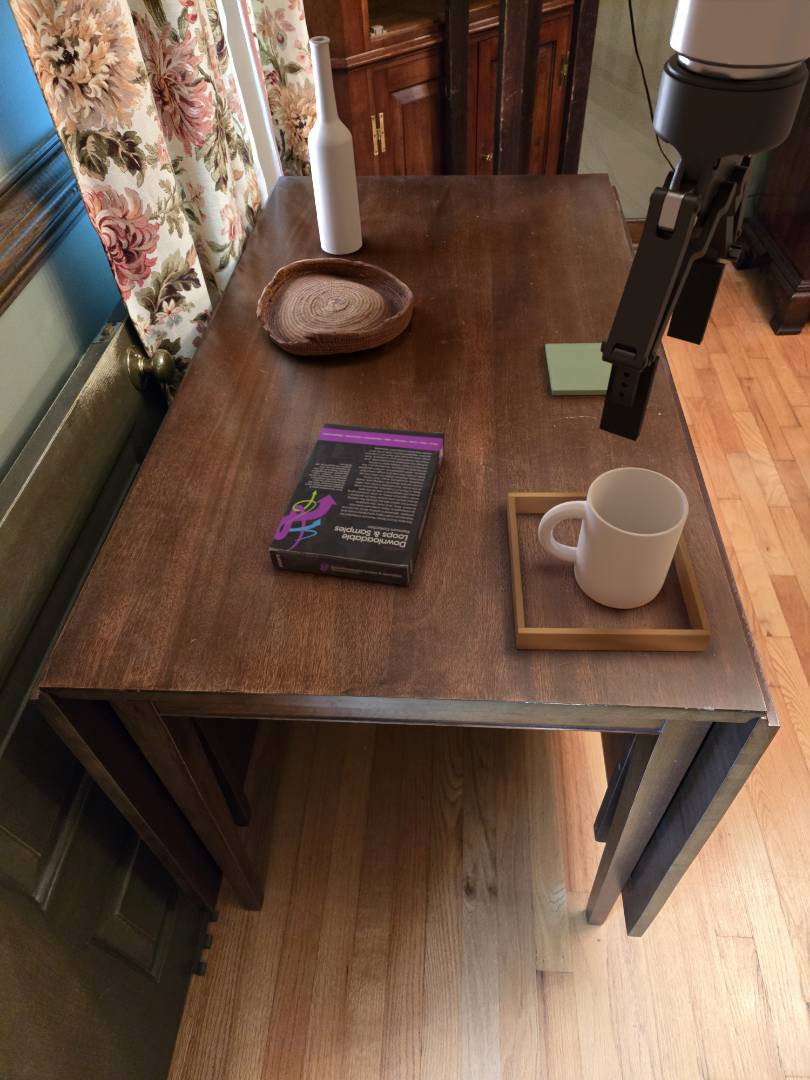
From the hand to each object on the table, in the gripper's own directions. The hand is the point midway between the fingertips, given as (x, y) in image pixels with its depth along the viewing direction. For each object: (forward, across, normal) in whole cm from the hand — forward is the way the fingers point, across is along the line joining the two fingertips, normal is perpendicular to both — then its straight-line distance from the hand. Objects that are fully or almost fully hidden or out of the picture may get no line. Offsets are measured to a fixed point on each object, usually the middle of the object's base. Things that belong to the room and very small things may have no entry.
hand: (653, 382), depth 55 cm
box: (+21, +7, -24) cm, 33 cm away
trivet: (+21, -28, -14) cm, 37 cm away
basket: (+21, -21, -49) cm, 57 cm away
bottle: (+21, -40, -62) cm, 77 cm away
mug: (+21, +2, 0) cm, 21 cm away
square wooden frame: (+21, +2, 0) cm, 21 cm away
